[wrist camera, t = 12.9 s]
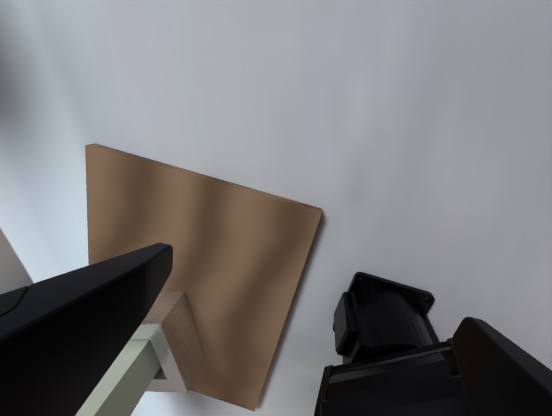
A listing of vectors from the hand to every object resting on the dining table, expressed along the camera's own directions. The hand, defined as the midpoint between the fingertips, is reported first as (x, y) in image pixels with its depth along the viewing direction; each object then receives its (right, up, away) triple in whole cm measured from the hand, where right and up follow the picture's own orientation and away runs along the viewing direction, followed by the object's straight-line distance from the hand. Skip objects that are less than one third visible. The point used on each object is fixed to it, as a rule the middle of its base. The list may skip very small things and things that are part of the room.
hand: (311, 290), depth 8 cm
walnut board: (-9, -6, +18) cm, 21 cm away
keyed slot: (-14, -9, +19) cm, 25 cm away
